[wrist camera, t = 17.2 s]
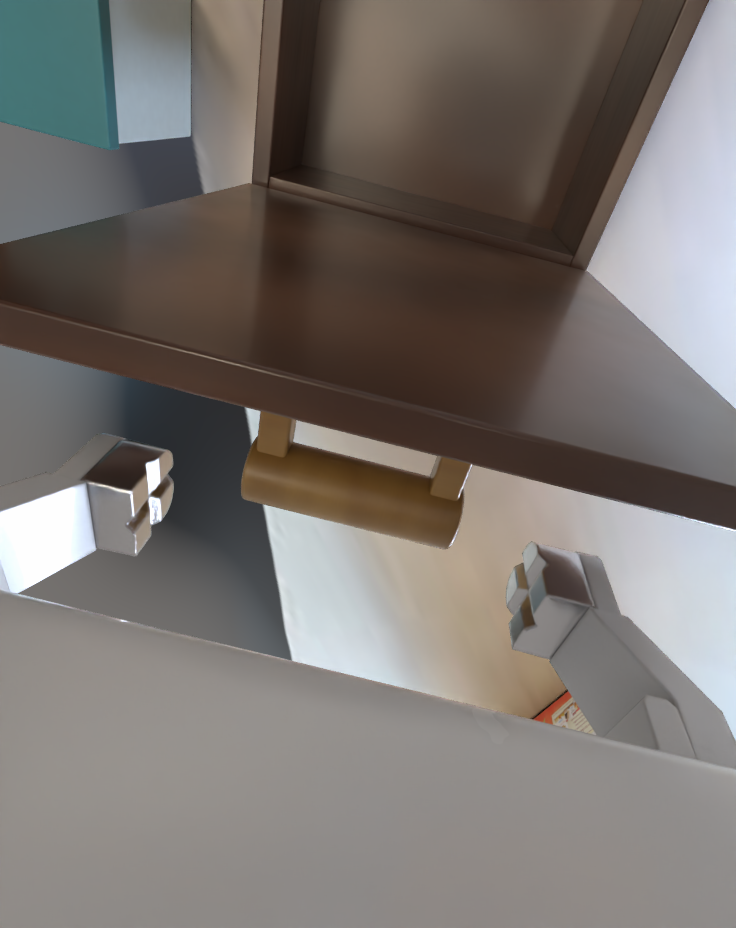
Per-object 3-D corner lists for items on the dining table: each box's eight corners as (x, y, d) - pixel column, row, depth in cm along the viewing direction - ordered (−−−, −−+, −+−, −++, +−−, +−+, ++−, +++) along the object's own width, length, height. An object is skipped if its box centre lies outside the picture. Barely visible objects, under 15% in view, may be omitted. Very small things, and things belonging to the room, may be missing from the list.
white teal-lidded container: (86, -41, 24) (-59, -101, 17) (194, -12, 24) (93, -60, 17) (100, 116, 28) (-15, 118, 21) (194, 140, 28) (110, 150, 21)
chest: (341, -330, 18) (296, -517, 13) (747, -217, 19) (871, -352, 13) (289, 175, 28) (250, 191, 23) (557, 245, 28) (582, 277, 23)
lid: (-120, 270, 8) (-46, 500, 10) (857, 519, 8) (691, 684, 10) (248, 182, 22) (240, 287, 25) (589, 271, 22) (546, 365, 25)
